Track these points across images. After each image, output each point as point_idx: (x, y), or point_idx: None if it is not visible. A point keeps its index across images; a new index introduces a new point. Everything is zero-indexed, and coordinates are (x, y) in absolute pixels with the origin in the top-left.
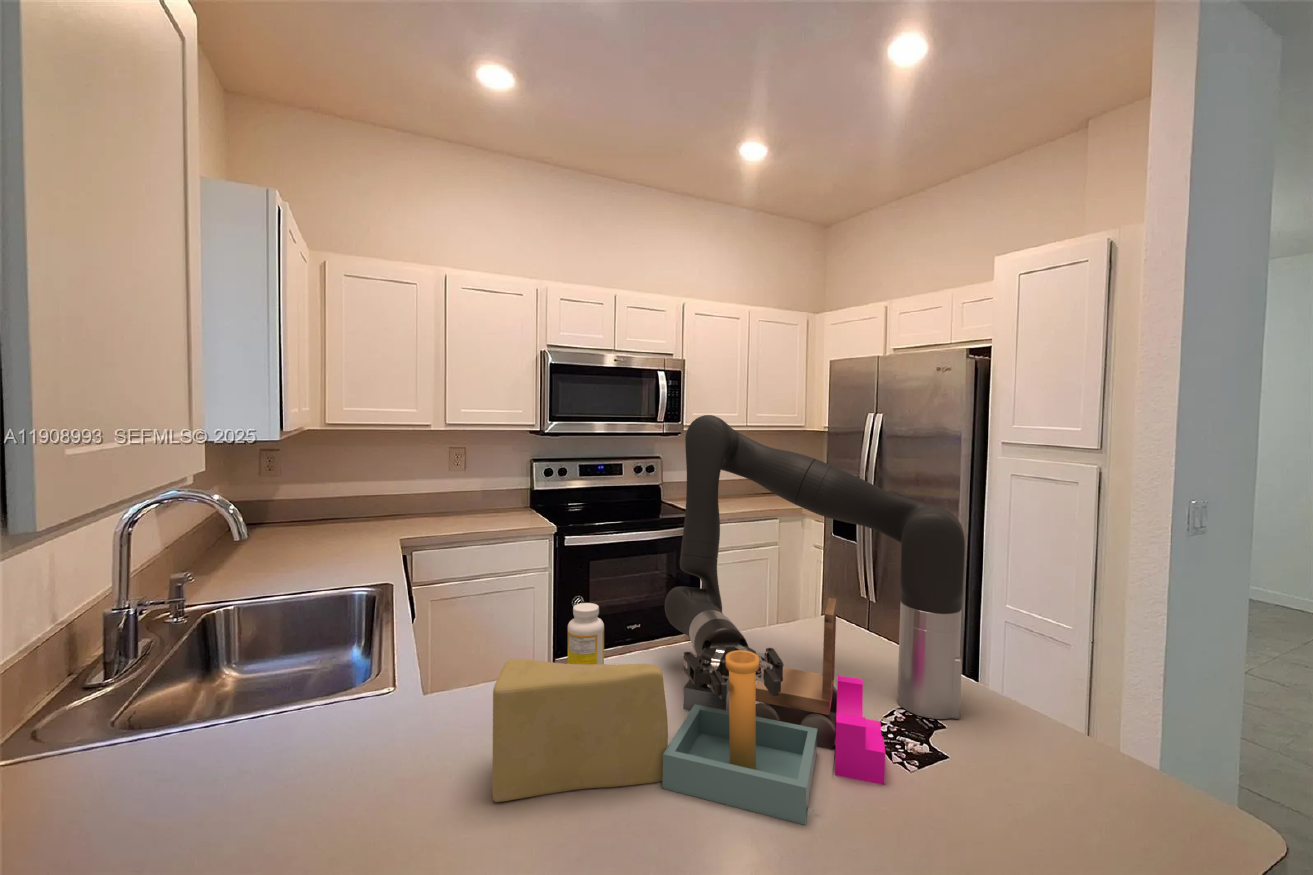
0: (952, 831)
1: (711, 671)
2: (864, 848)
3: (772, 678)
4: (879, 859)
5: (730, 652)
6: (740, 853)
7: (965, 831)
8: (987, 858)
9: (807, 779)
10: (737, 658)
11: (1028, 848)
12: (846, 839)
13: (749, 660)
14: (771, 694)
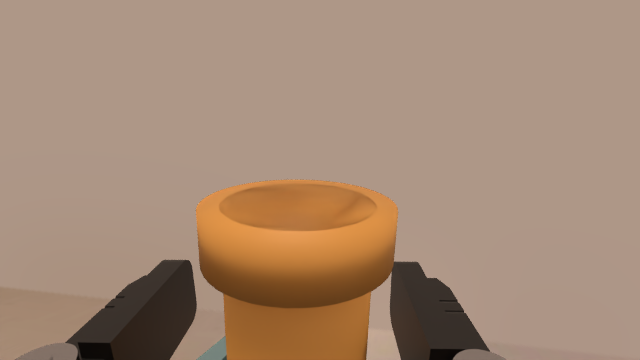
0: (54, 336)
1: (488, 355)
2: (202, 329)
3: (176, 267)
4: (201, 315)
5: (352, 233)
6: (374, 343)
7: (38, 334)
8: (83, 302)
9: (224, 337)
10: (329, 200)
11: (17, 306)
12: (210, 344)
13: (276, 190)
14: (187, 330)
